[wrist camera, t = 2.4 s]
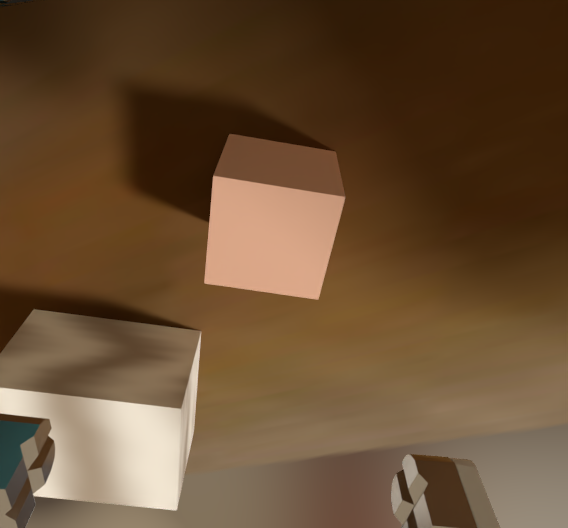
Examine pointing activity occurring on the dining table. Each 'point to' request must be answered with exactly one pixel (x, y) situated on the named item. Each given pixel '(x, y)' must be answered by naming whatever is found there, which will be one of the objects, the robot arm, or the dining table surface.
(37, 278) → the dining table surface
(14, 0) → the beverage bottle
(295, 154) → the terracotta block
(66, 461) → the base block
